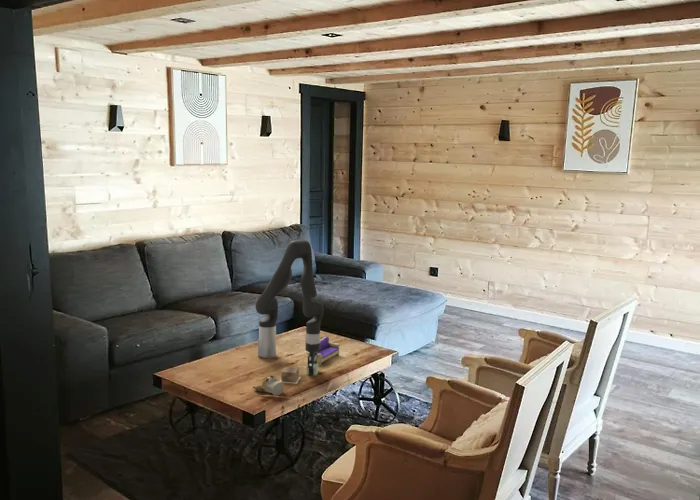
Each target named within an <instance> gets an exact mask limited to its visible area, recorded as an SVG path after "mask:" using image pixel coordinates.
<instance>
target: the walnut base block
mask: <svg viewBox="0 0 700 500" xmlns="http://www.w3.org/2000/svg"><path fill="white" fill-rule="evenodd" d="M280 373H281V374H280V375H281V377H280V380H281V382H292V383H291V384H294V383H296V381H297V379H298V378H299V377H300V375H299V374H300V369H299V367H292V366H289V367H288V366H284V368H283V369H282V370H281V372H280Z"/></svg>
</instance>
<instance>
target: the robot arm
mask: <svg viewBox="0 0 700 500" xmlns="http://www.w3.org/2000/svg"><path fill="white" fill-rule="evenodd" d="M297 259H301V260H302V263H303V267H302V273H301V277H300V288H301V293H302V312H303V315H304V316H305V318H311V319H310V320H308V321H307V322H306V324H305V325H306V326H305V329H306V330H305V351H306V352H310V353H309V355H308V354H307V365H308V368H309V375H308V376H314V375H313V368H314V364H317V360H318V351H320V340H321V338H322V337H321V323H322V319H323V317H324V312H325V307H324V305H323V303H322V302H321V301H313V302H312V299H313V298H315V297H317V295H318V293H317V288H316V284H315V279H314V270H313V269H314V268H313V254H312V247H311V243H310V242H309V241H308V240H306V239H300V240H298V239H295V240H291V241H290V242H289V243H288V244H287V246H286V248H285V251H284V253H283V256H282V258H281V261H280V262H279V264H278V266H277V268H276V270H275V271H274V273H273V275H272V276H271V279H270V281H269V282H268V284H267V285H266V288H265V289H264V291H262V293H261V294H260V295H259V297H258V299H257V300H256V302H255V311H256V313H258V314H259V315H263V317H262V318H260V319H259V322H258V339H257V357H260V358H263V359H271V358H274V357H276V355H277V322H278V312H279V302H278V299H277V298H276V297H277V296H278V295H279V294H281V293H282V292H283V291H284V290H286V288H287V286H288V285H289V284H290V282H291V280H292V278H293V272H292V265H293V264H294V262H295V261H296V260H297ZM310 364H312V366H310Z"/></svg>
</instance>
